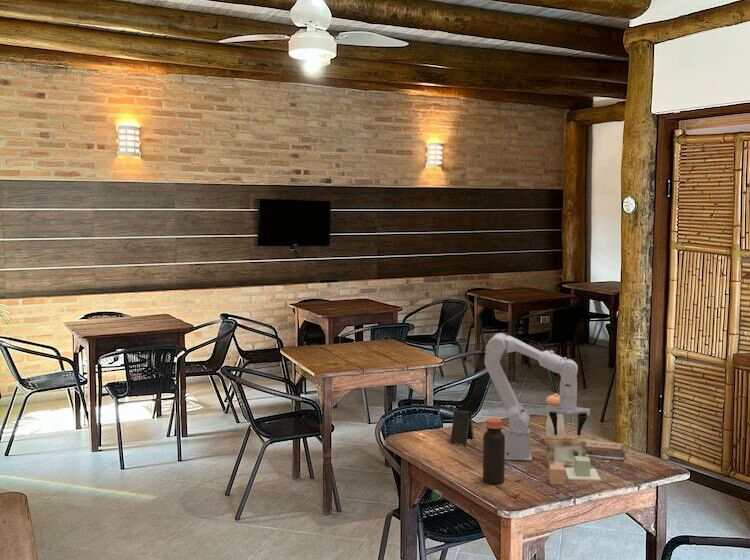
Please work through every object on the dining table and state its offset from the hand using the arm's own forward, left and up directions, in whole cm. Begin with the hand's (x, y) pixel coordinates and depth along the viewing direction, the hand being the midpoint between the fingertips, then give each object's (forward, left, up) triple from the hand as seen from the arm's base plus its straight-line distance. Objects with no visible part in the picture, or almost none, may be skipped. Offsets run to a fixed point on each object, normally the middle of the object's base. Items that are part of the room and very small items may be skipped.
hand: (567, 434), depth 255 cm
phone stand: (-36, +18, -10) cm, 41 cm away
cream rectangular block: (0, -3, -8) cm, 9 cm away
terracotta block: (-6, -20, -10) cm, 23 cm away
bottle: (-26, -21, -10) cm, 34 cm away
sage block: (+3, -13, -9) cm, 16 cm away
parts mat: (+3, -13, -10) cm, 16 cm away
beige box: (0, -3, -10) cm, 10 cm away
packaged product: (+12, +9, -10) cm, 18 cm away
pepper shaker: (-2, +18, -10) cm, 21 cm away
